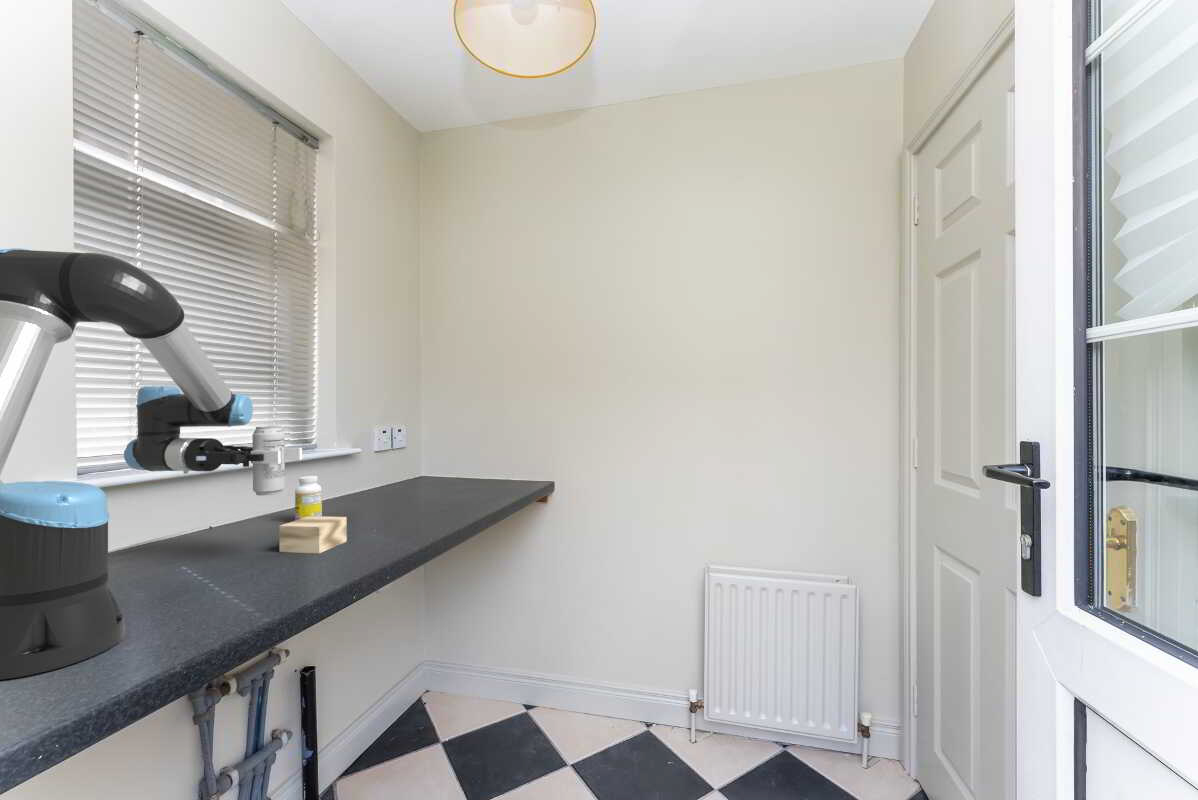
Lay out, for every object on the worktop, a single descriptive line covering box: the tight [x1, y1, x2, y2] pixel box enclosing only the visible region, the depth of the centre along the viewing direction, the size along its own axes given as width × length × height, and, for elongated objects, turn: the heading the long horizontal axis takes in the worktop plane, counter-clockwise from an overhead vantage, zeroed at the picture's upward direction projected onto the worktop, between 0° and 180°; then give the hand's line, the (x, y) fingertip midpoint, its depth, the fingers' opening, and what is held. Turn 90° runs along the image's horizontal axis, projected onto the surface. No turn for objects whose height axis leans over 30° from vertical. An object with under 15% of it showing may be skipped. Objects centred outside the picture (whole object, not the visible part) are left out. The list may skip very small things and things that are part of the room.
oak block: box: [278, 515, 348, 554], centre depth 123 cm, size 10×10×6 cm
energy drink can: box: [251, 425, 286, 496], centre depth 116 cm, size 6×6×15 cm
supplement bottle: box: [294, 475, 323, 521], centre depth 149 cm, size 7×7×13 cm
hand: (290, 455), depth 115 cm, fingers closed on energy drink can, 6 cm apart
